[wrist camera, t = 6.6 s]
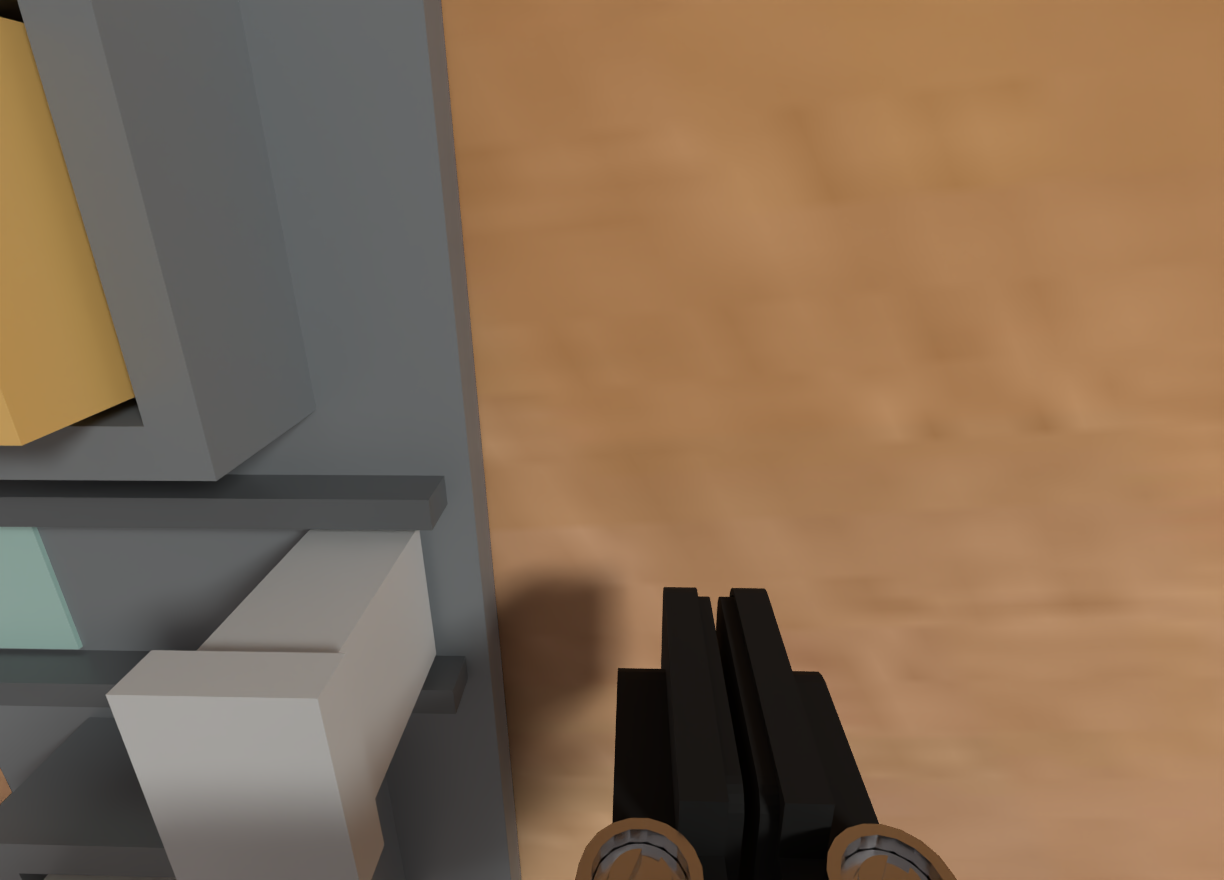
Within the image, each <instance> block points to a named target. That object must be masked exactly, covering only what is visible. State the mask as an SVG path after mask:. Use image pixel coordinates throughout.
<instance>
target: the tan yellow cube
mask: <svg viewBox="0 0 1224 880" xmlns="http://www.w3.org/2000/svg"><path fill="white" fill-rule="evenodd" d="M134 397H135V394H134V391H133V388H132V384H131V381H130V378H129V374H128V371H127V368H126V364H125V361H124V357H123V354H122V351H121V347H120V344H119V341H118V337H117V334H116V331H115V327H114V324H113V320H112V317H111V314H110V310H109V307H108V304H107V300H106V297H105V294H104V290H103V287H102V283H101V280H100V277H99V273H98V270H97V267H96V263H95V260H94V257H93V253H92V250H91V247H90V243H89V240H88V236H87V233H86V230H85V226H84V223H83V220H82V216H81V213H80V210H79V206H78V203H77V199H76V196H75V193H74V189H73V186H72V183H71V179H70V176H69V173H68V169H67V166H66V162H65V159H64V156H63V152H62V149H61V146H60V142H59V139H58V136H57V132H56V129H55V126H54V122H53V119H52V115H51V112H50V109H49V105H48V102H47V99H46V95H45V92H44V89H43V85H42V82H41V78H40V75H39V72H38V68H37V65H36V62H35V58H34V55H33V52H32V48H31V45H30V41H29V38H28V35H27V31H26V28H25V25H24V23H22V22H18V21H14V20H10V19H7V18H3V17H0V446H22V445H25V444H27V443H29V442H32V441H34V440H36V439H39V438H41V437H43V436H46V435H48V434H50V433H53V432H55V431H57V430H60V429H62V428H64V427H67V426H69V425H71V424H73V423H76V422H78V421H80V420H83V419H85V418H87V417H90V416H92V415H94V414H97V413H99V412H101V411H104V410H106V409H108V408H111V407H113V406H115V405H118V404H120V403H122V402H125V401H127V400H129V399H131V398H134Z"/></svg>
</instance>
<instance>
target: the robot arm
mask: <svg viewBox="0 0 1224 880" xmlns="http://www.w3.org/2000/svg"><path fill="white" fill-rule="evenodd" d="M575 880H957V879H956V878H955V876H954V874H953V873H952V872H951V871H950V869H949V868H948V867H947V865H946V864H945V863H944V862H943V860H942V859H941V858H940V856H939V855H937V854H936V853H935V852H934V851H933V850H932V849H930V848H929V847H928V846H927V845H926V844H924V843H923V842H922V841H921V840H919V839H917V838H915V837H913V836H912V835H910V834H908V833H906V832H904V831H903V830H900V829H897V828H893V827H890V826H886V825H883V824H879V822H878V820H877V817H876V814H875V812H874V809H873V807H872V804H871V801H870V799H869V796H868V793H867V791H866V788H865V785H864V783H863V780H862V778H861V775H860V772H859V770H858V767H857V764H856V762H855V759H854V756H853V754H852V751H851V749H850V746H849V743H848V741H847V738H846V735H845V733H844V730H843V727H842V725H841V722H840V720H839V717H838V714H837V712H836V709H835V706H834V704H833V701H832V698H831V696H830V693H829V691H828V688H827V685H826V683H825V681H824V679H823V677H822V675H821V674H820V673H819V672H805V671H792V669H791V666H790V663H789V659H788V656H787V653H786V650H785V647H784V644H783V641H782V638H781V634H780V631H779V628H778V625H777V622H776V619H775V616H774V613H773V610H772V606H771V603H770V600H769V597H768V594H767V591H766V590H765V589H757V588H732V589H731V591H730V597H719V599H718V607H717V622H716V630H715V624H714V619H713V613H712V608H711V602H710V598H709V597H698V594H697V589H696V588H681V587H664V589H663V617H662V655H661V669H632V668H618V681H617V709H616V738H615V766H614V795H613V823H612V824H610V825H609V826H607V827H606V828H604V829H602V830H601V831H599V832H598V833H597V834H596V835H595V836H594V838H593V839H592V840H591V841H590V842H589V844H588V845H587V846H586V848H585V850H584V853H583V855H582V858H581V860H580V862H579V865H578V870H577V874H576V878H575Z"/></svg>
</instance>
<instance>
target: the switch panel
mask: <svg viewBox="0 0 1224 880" xmlns="http://www.w3.org/2000/svg"><path fill="white" fill-rule="evenodd" d="M0 17H3V18H7V19H10V20H14V21H18V22H22V23H24V25H25V28H26V31H27V35H28V38H29V41H30V45H31V48H32V52H33V55H34V58H35V62H36V65H37V68H38V72H39V75H40V78H41V82H42V85H43V89H44V92H45V95H46V99H47V102H48V105H49V109H50V112H51V115H52V119H53V122H54V126H55V129H56V132H57V136H58V139H59V142H60V146H61V149H62V152H63V156H64V159H65V162H66V166H67V169H68V173H69V176H70V179H71V183H72V186H73V189H74V193H75V196H76V199H77V203H78V206H79V210H80V213H81V216H82V220H83V223H84V226H85V230H86V233H87V236H88V240H89V243H90V247H91V250H92V253H93V257H94V260H95V263H96V267H97V270H98V273H99V277H100V280H101V283H102V287H103V290H104V294H105V297H106V300H107V304H108V307H109V310H110V314H111V317H112V320H113V324H114V327H115V331H116V334H117V337H118V341H119V344H120V347H121V351H122V354H123V357H124V361H125V364H126V368H127V371H128V374H129V378H130V381H131V384H132V388H133V391H134V394H135V397H134V398H131V399H129V400H127V401H125V402H122V403H120V404H118V405H115V406H113V407H111V408H108V409H106V410H104V411H101V412H99V413H97V414H94V415H92V416H90V417H87V418H85V419H83V420H80V421H78V422H76V423H73V424H71V425H69V426H67V427H64V428H62V429H60V430H57V431H55V432H53V433H50V434H48V435H46V436H43V437H41V438H39V439H36V440H34V441H32V442H29V443H27V444H25V445H22V446H0V768H1V770H2V772H3V774H4V776H5V778H6V780H7V783H8V785H9V787H10V789H11V791H12V793H11V794H10V795H9V796H8V797H7V798H6V799H5V800H4V801H3V802H2V803H1V804H0V880H44V879H45V877H46V876H47V875H48V874H59V875H94V876H129V877H165V878H176V877H175V874H174V872H173V869H172V866H171V864H170V861H169V859H168V856H167V853H166V851H165V848H164V846H163V843H162V840H161V838H160V835H159V833H158V830H157V827H156V825H155V822H154V820H153V817H152V814H151V812H150V809H149V807H148V804H147V801H146V799H145V796H144V794H143V791H142V788H141V786H140V783H139V781H138V778H137V775H136V773H135V770H134V768H133V765H132V762H131V760H130V757H129V755H128V752H127V749H126V747H125V744H124V742H123V739H122V736H121V734H120V731H119V729H118V726H117V723H116V721H115V718H114V716H113V713H112V710H111V708H110V705H109V703H108V700H107V697H106V694H107V693H108V692H109V691H110V690H111V689H112V688H113V687H114V686H115V685H116V684H117V683H118V682H119V681H120V680H121V679H122V678H123V677H124V676H125V675H126V674H128V673H129V672H130V671H131V670H132V669H133V668H134V667H135V666H136V665H137V664H138V663H139V662H140V661H141V660H142V659H143V658H144V657H145V656H146V655H147V654H148V653H149V652H150V651H151V650H175V651H197V650H198V649H199V647H200V646H201V645H202V644H203V643H204V642H205V641H206V640H207V639H208V638H209V637H210V636H211V635H212V634H213V632H214V631H215V630H216V629H217V628H218V627H219V626H220V625H221V624H222V623H223V622H224V621H225V620H226V619H227V618H228V616H229V615H230V614H231V613H232V612H233V611H234V610H235V609H236V608H237V607H238V606H239V605H240V604H241V603H242V601H243V600H244V599H245V598H246V597H247V596H248V595H249V594H250V593H251V592H252V591H253V590H254V589H255V588H256V587H257V585H258V584H259V583H260V582H261V581H262V580H263V579H264V578H265V577H266V576H267V575H268V574H269V573H270V572H271V571H272V569H273V568H274V567H275V566H276V565H277V564H278V563H279V562H280V561H281V560H282V559H283V558H284V557H285V556H286V554H287V553H288V552H289V551H290V550H291V549H292V548H293V547H294V546H295V545H296V544H297V543H298V542H299V541H300V540H301V538H302V537H303V536H304V535H305V534H306V533H307V532H308V531H309V530H310V529H322V530H419V531H420V539H421V546H422V553H423V560H424V568H425V575H426V582H427V589H428V597H429V604H430V611H431V619H432V626H433V633H434V640H435V648H436V656H435V658H434V661H433V663H432V665H431V668H430V670H429V672H428V675H427V677H426V680H425V682H424V684H423V687H422V689H421V691H420V694H419V696H418V698H417V701H416V703H415V706H414V708H413V710H412V713H411V715H410V717H409V720H408V722H407V725H406V727H405V729H404V732H403V734H402V736H401V739H400V741H399V743H398V746H397V748H396V751H395V753H394V755H393V758H392V760H391V762H390V765H389V767H388V770H387V772H386V774H385V777H384V779H383V781H382V784H381V786H380V788H379V791H378V793H377V796H376V798H375V801H376V806H377V811H378V816H379V821H380V826H381V831H382V836H383V841H384V847H383V850H382V852H381V855H380V858H379V860H378V863H377V866H376V868H375V871H374V874H373V876H372V879H371V880H521V870H520V859H519V848H518V837H517V826H516V815H515V804H514V793H513V782H512V771H511V760H510V749H509V739H508V728H507V717H506V706H505V695H504V684H503V673H502V662H501V651H500V640H499V629H498V618H497V607H496V596H495V585H494V575H493V564H492V553H491V542H490V531H489V520H488V509H487V498H486V487H485V476H484V465H483V454H482V443H481V432H480V421H479V411H478V400H477V389H476V378H475V367H474V356H473V345H472V334H471V323H470V312H469V301H468V290H467V279H466V268H465V257H464V247H463V236H462V225H461V214H460V203H459V192H458V181H457V170H456V159H455V148H454V137H453V126H452V115H451V104H450V93H449V83H448V72H447V61H446V50H445V39H444V28H443V17H442V6H441V0H0Z"/></svg>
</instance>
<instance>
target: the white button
mask: <svg viewBox="0 0 1224 880" xmlns="http://www.w3.org/2000/svg"><path fill="white" fill-rule="evenodd" d="M44 880H177V879H176V878H165V877H129V876H94V875H59V874H48V875H47V876H46V877H45V879H44Z"/></svg>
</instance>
